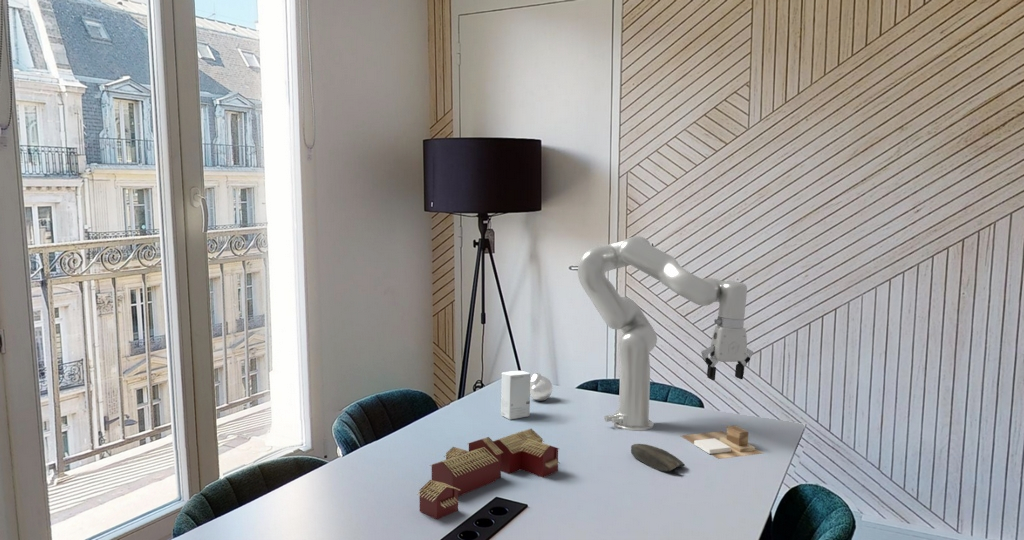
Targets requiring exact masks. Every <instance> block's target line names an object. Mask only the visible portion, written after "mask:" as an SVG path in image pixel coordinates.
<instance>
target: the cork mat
mask: <svg viewBox="0 0 1024 540" xmlns="http://www.w3.org/2000/svg"><path fill="white" fill-rule="evenodd" d="M680 437H682V438H683V439H685V440H686V441H688V442H690V443H691V444H693V445H694V440H703V439H713V438H715V439H717V440H719V441H720V438H721V437H727V432H725V431H724V430H723V431H722V430H719V431H711V432H702V433H700V432H699V433H694V434H692V433H691V434H686V435H685V434H683V435H680ZM722 443H723V442H722ZM729 447H730V446H729ZM759 454H763V452H762V451H760V450H758V449H756V448H755V451H747V452H739V451H737V450H735V449H733V448H732V447H731V451H730V452H723V453H715V454H710V455H711V456H713V457H714V458H716V459H718V460H719V459H728V458H736V457H745V456H753V455H759Z"/></svg>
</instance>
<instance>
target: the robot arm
mask: <svg viewBox="0 0 1024 540" xmlns="http://www.w3.org/2000/svg"><path fill="white" fill-rule="evenodd" d="M628 266H632V267H633V268H635V269H636V270H638V271H641V272H643V273H644V274H646V275H648V276H650V277H652V278H654V279H655V280H656V281H659V282H660V283H662V285H663V286H665V287H667V288H668V289H670V290H671V291H673V292H674V293H675V294H677V295H678V296H681V297H682V298H684V299H685V300H688V301H690V302H691V303H694V304H696V305H697V306H702V307H707V306H710V305H712V304H714V303H719V304H718V314H717V318H715V319H714V324H715V325H717V326H715V327H714V329H713V333H712V336H711V343H710V346H709V347H707V348H705V349H703V350H702V351H701V353H700V354H701V356H702V359H703V362H705V364H706V366H707V371H706V378H708V379H709V380H711V381H715V380H716V372H717V367H716V365H717V364H718V363H719V362H723V363H726V362H727V363H728V362H730V363H731V362H734V363H735V362H737V363H736V365H735V371H734V372H735V373H734V377H735V378H736V379H739V380H743V379H744V373H745V367H747V364H748V363H749V362H750V360H751V358H752V357H753V355H754V351H753V350H751V349H750V348H749V347H747V346H748V341H747V340H748V337H747V328H744V324H745V317H746V316H745V314H746V305H747V295H748V286H747V285H746V284H745V283H744V282H739V281H730V280H729V281H725V280H721V279H717V278H713V277H706V278H700V277H699V276H697V275H695V274H693V273H692V272H689V271H688V270H687V269H686V268H684V267H683V266H681V264H679V262H678V261H677V259H676V258H675V257H674V256H672V255H670V254H669V253H666V252H664V251H663V250H661V249H659V248H657V247H655V246H653V245H652V244H651V242H650V241H649V240H648V239H647V238H646V237H644V236H640V235H637V236H631V237H628V238H626V239H624V240H620V241H617V242H613V243H610V244H609V243H608V244H606V245H600V246H595V247H592V248H589V249H588V250H586V251H585V252H584V254H582V256H581V258H580V260H579V263H578V267H577V276H578V281H579V283H580V285H581V287H582V289H583V290H584V292H585V293H586V295H587V296H588V297H589V299H590V300H591V303H592V304H593V306H594V307H595V309H596V310H597V312H598V313H599V315H600V316H601V318H602V320H603V321H604V323H605V324H606V325H607V327H609V328H610V329H612V330H616V331H617V330H618V331H619V330H620V331H621V332H622V336H621V337H620V339H619V342H618V359H619V392H618V393H619V394H618V395H619V397H618V399H619V400H618V402H619V403H618V410H616V411H615V413H613V415H612V414H609V415H606V414H605V416H604V421H605V422H606V423H607V422H611V423H612V424H613V425H614V428H618V429H621V430H625V431H632V432H641V431H648V430H651V429H653V428H654V426H655V425H654V422H653V421H652V420H650V389H651V388H650V387H651V366H650V365H651V364H650V362H651V361H650V352H651V351H653V350H654V349H655V347H656V346H657V343H658V337H657V336H658V335H657V333H656V330H655V329H654V328H653V326H652V324H651V323H650V321H649V320H648V318H647V317H646V315H645V313H644V312H643V310H641V308H640V306H639V305H638V304H637V303H636V301H634V300H633V299H631V298H629V297H627V296H621V295H620V294H619V293H618V291H617V290H616V288H615V286H614V284H612V282H611V281H610V280H609V279H608V278H607V277H606V274H605V273H606V272H609V271H612V270H613V271H614V270H617V269H621V268H625V267H628ZM709 355H710V357H709Z"/></svg>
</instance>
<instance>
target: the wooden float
mask: <svg viewBox="0 0 1024 540" xmlns="http://www.w3.org/2000/svg"><path fill="white" fill-rule="evenodd" d="M726 433H727V437H721V438H720V441H721V442H723V443H724V444H726V445H728V446H730V447H732V448H733V449H735V450H737V451H739V452H747V451H755V449H756V446H753V445H751V444H750V443H749V431H748V430H746V429H744V428H741V427H739V426H737V425H727V426H726Z"/></svg>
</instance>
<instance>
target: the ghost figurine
mask: <svg viewBox="0 0 1024 540" xmlns="http://www.w3.org/2000/svg"><path fill="white" fill-rule="evenodd" d="M553 389H554V387H553V384H552V381H551V380H550V379H549V378H548V377H546V376H544V375H542V374H541V373H540V372H538V373H536V372H535V373H533V374H532V375H530V398H532V399H534V400H535V401H537V402H538V401H540V402H542V401H545V400H547V399H549V398H550V397H551V395H552V394H553Z"/></svg>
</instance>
